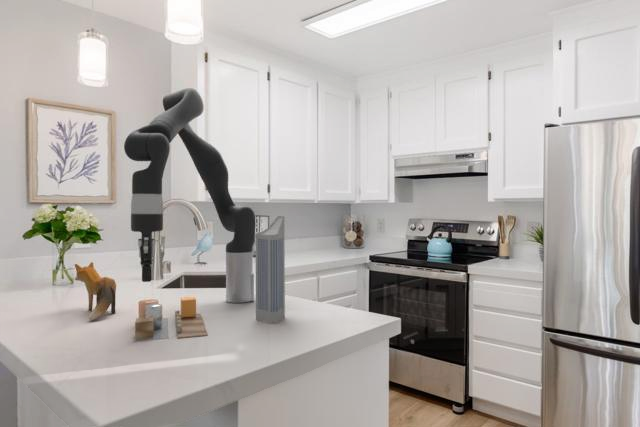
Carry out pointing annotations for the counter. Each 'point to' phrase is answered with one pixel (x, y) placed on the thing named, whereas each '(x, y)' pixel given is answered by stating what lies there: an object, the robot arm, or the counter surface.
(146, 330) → the oak block
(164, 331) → the slate tray
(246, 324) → the counter surface
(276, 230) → the building model
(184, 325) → the rail
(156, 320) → the metal canister
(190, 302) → the orange block
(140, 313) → the salmon domed cylinder
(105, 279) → the toy
